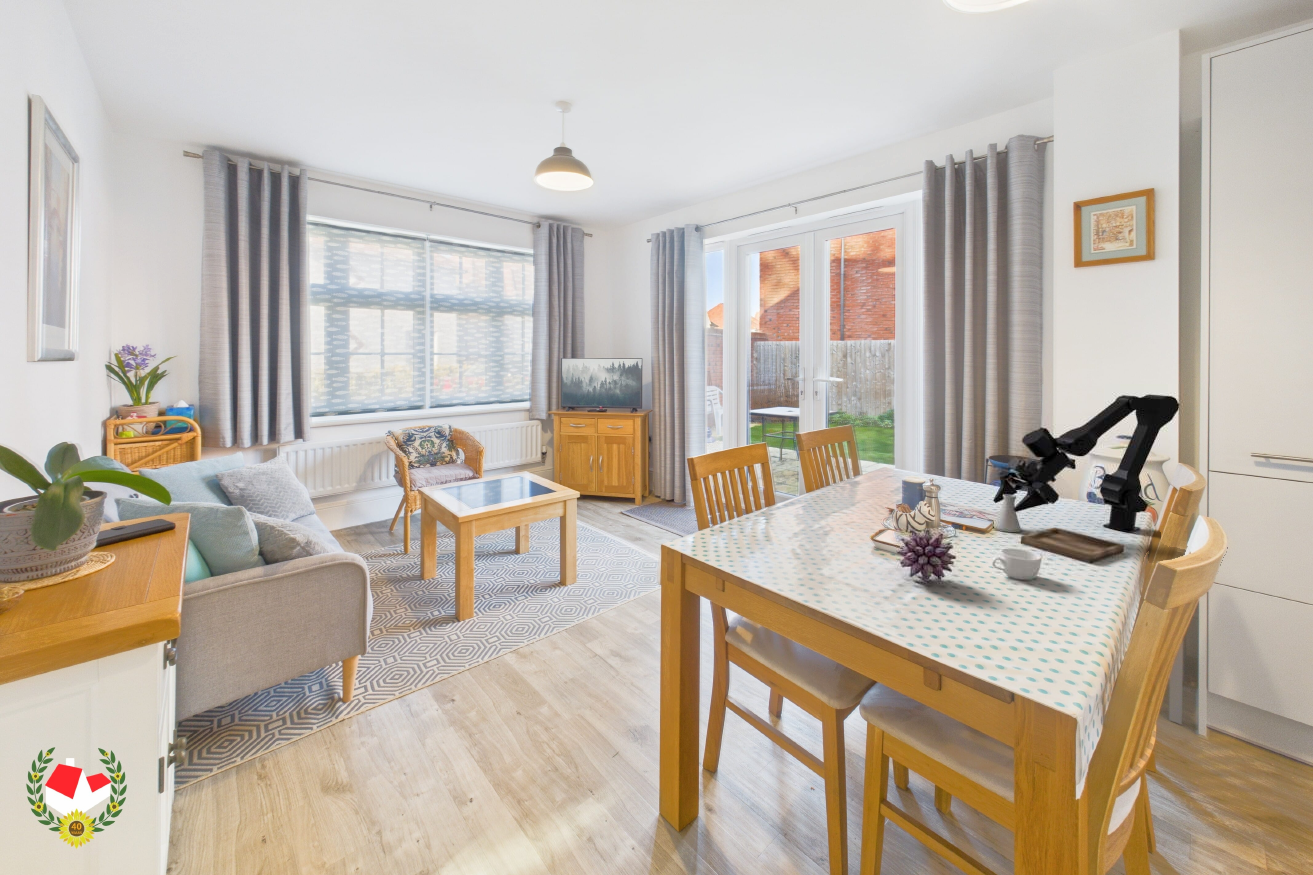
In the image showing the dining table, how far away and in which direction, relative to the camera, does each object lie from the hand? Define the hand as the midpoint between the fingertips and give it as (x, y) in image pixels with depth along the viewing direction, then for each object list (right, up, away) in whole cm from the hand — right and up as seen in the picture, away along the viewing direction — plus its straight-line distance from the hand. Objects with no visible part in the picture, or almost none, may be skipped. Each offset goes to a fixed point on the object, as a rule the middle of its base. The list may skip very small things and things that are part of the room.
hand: (1004, 506), depth 156 cm
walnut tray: (+8, -9, -14) cm, 19 cm away
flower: (-40, -13, -34) cm, 54 cm away
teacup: (-19, -12, -32) cm, 39 cm away
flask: (+1, -7, +1) cm, 7 cm away
